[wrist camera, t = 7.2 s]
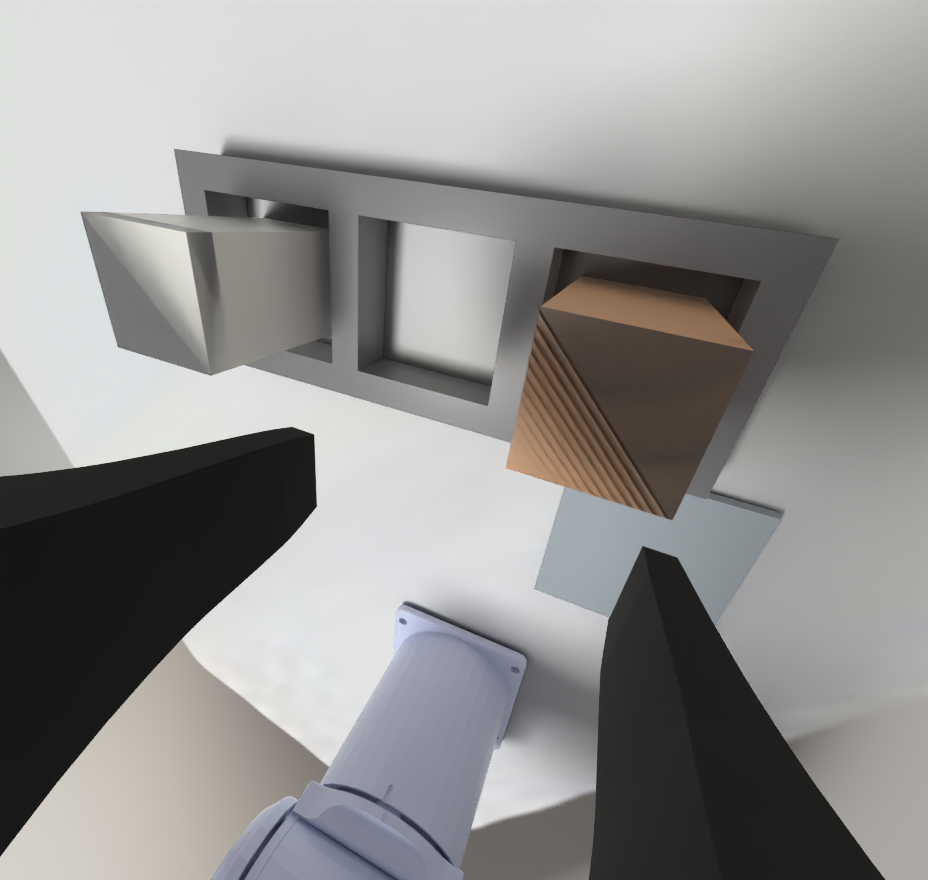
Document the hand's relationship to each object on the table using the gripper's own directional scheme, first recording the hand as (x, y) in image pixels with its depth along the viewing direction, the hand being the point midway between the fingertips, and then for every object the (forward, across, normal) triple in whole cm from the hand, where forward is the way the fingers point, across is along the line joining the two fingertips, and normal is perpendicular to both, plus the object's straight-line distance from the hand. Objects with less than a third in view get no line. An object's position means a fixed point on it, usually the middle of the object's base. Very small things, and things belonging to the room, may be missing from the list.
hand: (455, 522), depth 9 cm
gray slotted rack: (+9, +4, -2) cm, 11 cm away
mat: (+9, -6, +6) cm, 12 cm away
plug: (+9, -2, -2) cm, 10 cm away
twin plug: (+9, +11, -2) cm, 15 cm away
